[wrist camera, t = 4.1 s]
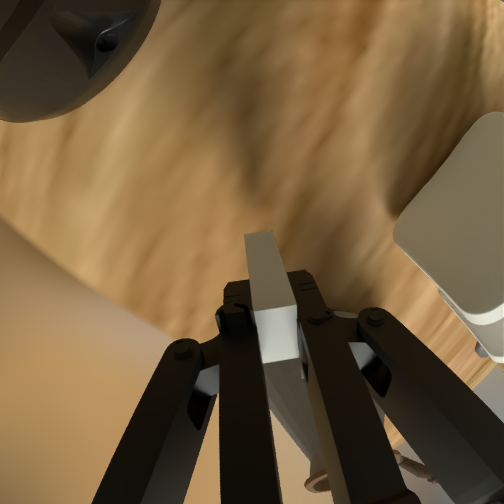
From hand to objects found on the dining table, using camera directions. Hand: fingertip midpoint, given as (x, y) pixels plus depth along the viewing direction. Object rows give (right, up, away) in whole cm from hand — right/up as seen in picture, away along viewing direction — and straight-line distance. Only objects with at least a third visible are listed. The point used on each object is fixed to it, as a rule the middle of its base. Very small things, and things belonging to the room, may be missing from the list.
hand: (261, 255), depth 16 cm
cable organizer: (+17, +4, +3) cm, 18 cm away
